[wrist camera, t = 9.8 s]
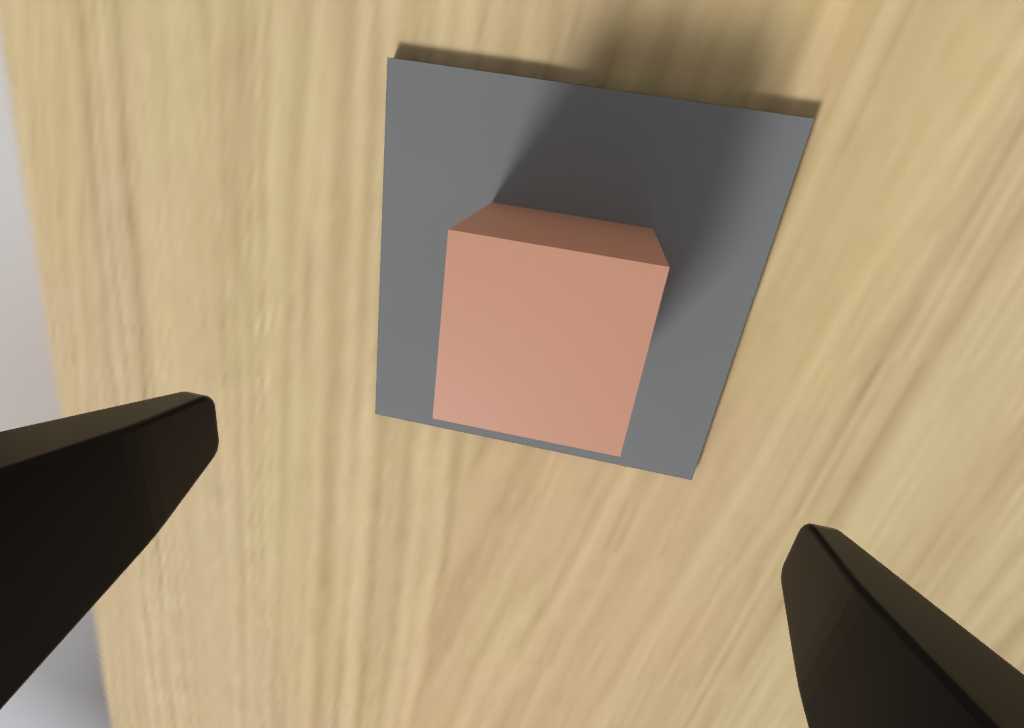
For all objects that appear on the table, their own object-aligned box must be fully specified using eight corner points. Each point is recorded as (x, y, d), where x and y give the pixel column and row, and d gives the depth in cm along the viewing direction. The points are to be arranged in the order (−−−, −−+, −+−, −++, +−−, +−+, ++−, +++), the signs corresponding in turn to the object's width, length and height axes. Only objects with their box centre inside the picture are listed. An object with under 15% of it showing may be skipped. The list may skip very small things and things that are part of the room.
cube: (652, 228, 16) (669, 267, 12) (617, 376, 18) (620, 456, 14) (491, 202, 17) (448, 229, 12) (475, 348, 19) (432, 418, 14)
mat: (809, 118, 15) (814, 118, 14) (690, 473, 20) (691, 480, 19) (392, 58, 16) (387, 57, 16) (379, 408, 21) (375, 413, 21)
